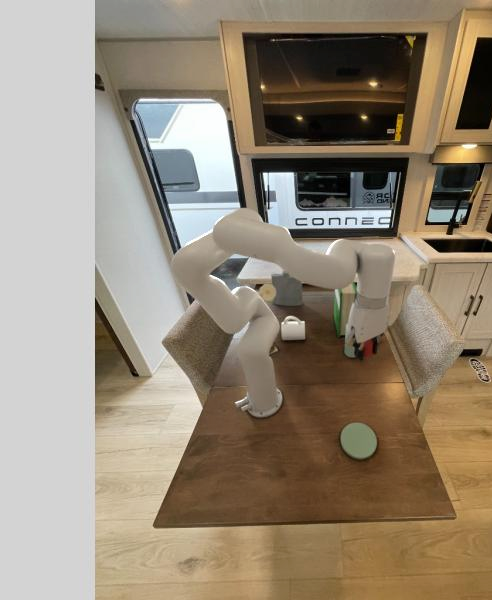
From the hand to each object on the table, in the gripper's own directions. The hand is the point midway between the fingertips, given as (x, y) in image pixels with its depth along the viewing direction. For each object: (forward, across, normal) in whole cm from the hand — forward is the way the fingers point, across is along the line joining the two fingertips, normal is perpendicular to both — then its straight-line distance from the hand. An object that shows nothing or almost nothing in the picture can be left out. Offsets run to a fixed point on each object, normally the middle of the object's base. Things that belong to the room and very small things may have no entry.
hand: (365, 354), depth 72 cm
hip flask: (+29, -12, -75) cm, 81 cm away
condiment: (+29, +13, -47) cm, 57 cm away
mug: (+29, -1, -48) cm, 56 cm away
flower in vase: (+29, +8, -60) cm, 67 cm away
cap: (0, 0, 0) cm, 0 cm away
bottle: (+29, -18, -26) cm, 43 cm away
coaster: (+29, +4, +6) cm, 30 cm away
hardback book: (+29, -26, -43) cm, 58 cm away
